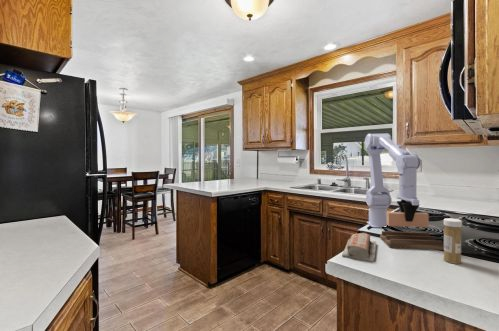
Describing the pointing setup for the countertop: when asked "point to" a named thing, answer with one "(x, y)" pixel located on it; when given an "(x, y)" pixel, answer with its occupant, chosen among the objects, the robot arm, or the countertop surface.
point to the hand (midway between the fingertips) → (407, 220)
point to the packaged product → (360, 247)
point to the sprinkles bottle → (452, 240)
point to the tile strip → (400, 220)
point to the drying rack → (411, 240)
